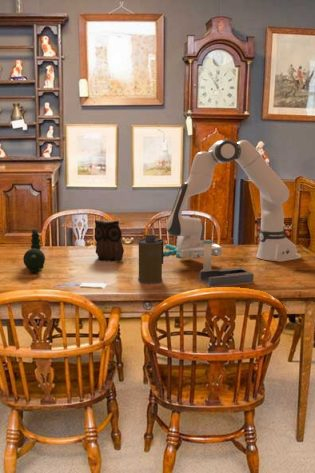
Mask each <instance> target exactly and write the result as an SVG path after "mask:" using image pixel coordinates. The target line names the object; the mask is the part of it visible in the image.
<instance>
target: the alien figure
mask: <svg viewBox="0 0 315 473" xmlns="http://www.w3.org/2000/svg"><path fill="white" fill-rule="evenodd" d="M165 249H168V250H166V251H163V257H164V256H170V255H171V256H172V255H173V256H174V255H176V256H175V257H176V258H182V257H181V256H180V255H179V253H178V252H176V250H178V249H179V247H178V246H174V245H173V244H172V245H171V244H170V243H169V244H168V243H167V244H165ZM171 249H172V250H171ZM169 254H170V255H169Z"/></svg>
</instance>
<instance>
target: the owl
mask: <svg viewBox="0 0 315 473" xmlns="http://www.w3.org/2000/svg"><path fill="white" fill-rule="evenodd" d="M119 223H120V221H119V220H105V219H104V220H97V219H94V224H95V227H94V240H95V243H96V245H95V254H96V255H97V260H98V261H100V262H110V263H111V262H123V258H124V252H125V249H124V245H123V242H122V237H123V236H122V235H123V234H122V229H121V228H120V227H121V226H120V224H119Z"/></svg>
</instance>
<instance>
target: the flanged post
mask: <svg viewBox="0 0 315 473" xmlns="http://www.w3.org/2000/svg"><path fill="white" fill-rule="evenodd" d="M212 242H213V240H212V239H204V256H203V268H202V269H201V270H200V271H207V270H213V269H212V257H213V256H212Z"/></svg>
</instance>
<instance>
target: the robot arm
mask: <svg viewBox="0 0 315 473" xmlns="http://www.w3.org/2000/svg"><path fill="white" fill-rule="evenodd" d="M234 161H235V162H236V163H237V164H238V165H239V167H240V168H241V169H242V170H243V172H244V173H245V174H246V176H247V177H248V178H249V180H250V181H251V182H252V184H253V185H255V187H256V188H257V189H258V190H259V200H260V201H259V202H260V211H261V212H260V213H261V214H260V215H261V217H260V229H259V242H258V249H257V253H256V258H257V259H259V260H260V259H261V260H264V261H274V262H279V263H281V262H287V261H292V260H293V261H294V260H297V259H302V256H301V254H299V253H298V252H297V251H298V250H297V246H296V244H294V243H293V241H291V240H290V239H288V237H287V236H290V235H291V232H290V231H288V230H284V223H285V221H284V220H285V214H284V208H283V204H285V203H286V202H287V201H288V200H289V198H290V190H289V188H288V186H287V184H285V182H284V181H283V180H282V179H281V177H279V175H278V174H277V173H276V172H275V171H274V170H273V169H272V168H271V167H270V165H269V164H268V163H267V161H266V160H265V158H264V157H263V156H262V154H261V153H260V151H258V150H257V148H256V147H255V146H254V145H253V144H252V143H251V142H250V141H249V140H246V139H241V140H239V141H237V142H235V141H233V140H230V139H219V140H217V141H215V142H213V143H212V144H211V145H210V146H209V147H208V148H207V150H205V151H199V152H197V153H196V154H195V155H194V157H193V161H192V164H191V168H190V172H189V176H188V178H187V180H186V181H185V182H183V183H182V184H181V186H180V187H179V189H178V191H177V195H176V198H175V201H174V203H173V207H172V209H171V212H170V215H169V217H168V218H167V221H166V226H165V228H166V231H167V233H168V234H169V235H170V236H172V237H177V239H176V245H177V248H179V249H178V250H176V252H178V253H179V255H180V256H181V257H180V258H182V259H186V258H187V259H189V258H192V259H198V258H201V257H202V258H203V257H204V240H205V239H204V240H202V239H203V237H204V235H205V230H206V229H205V224H204V222H203V221H202V220H201V218H198V217H190V216H182V213H183V210H184V207H185V205H186V201H187V200H188V199H189V198H190V197H192V196H195V195H199V194H202V193H205V192H206V191H208V190H209V189H210V188H211V186H212V182H213V177H214V172H215V168H216V166H217V165H218V164H226V163H231V162H234ZM221 255H223V247H222V246H221V245H219V244H217V243H215V242H213V241H212V257H218V256H221Z"/></svg>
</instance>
